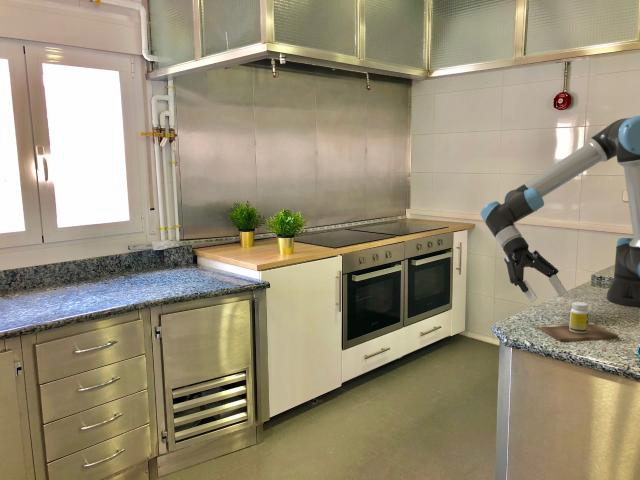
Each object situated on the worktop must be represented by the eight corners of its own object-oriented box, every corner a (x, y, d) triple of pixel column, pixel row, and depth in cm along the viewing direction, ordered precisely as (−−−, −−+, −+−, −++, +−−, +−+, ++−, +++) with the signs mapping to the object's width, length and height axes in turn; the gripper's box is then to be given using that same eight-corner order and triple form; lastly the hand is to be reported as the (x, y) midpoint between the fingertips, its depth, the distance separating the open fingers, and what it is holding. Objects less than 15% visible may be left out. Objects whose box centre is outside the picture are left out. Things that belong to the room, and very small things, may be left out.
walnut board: (590, 324, 160) (590, 321, 160) (617, 338, 148) (618, 335, 148) (536, 327, 157) (536, 324, 157) (560, 341, 145) (560, 338, 145)
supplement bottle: (589, 334, 149) (591, 306, 147) (571, 333, 150) (573, 305, 148) (584, 329, 153) (586, 301, 152) (567, 328, 154) (569, 300, 153)
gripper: (530, 245, 179) (566, 297, 168) (478, 253, 167) (513, 309, 157) (544, 232, 173) (583, 285, 163) (491, 239, 162) (529, 296, 151)
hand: (549, 297), depth 160 cm, fingers open, 13 cm apart
